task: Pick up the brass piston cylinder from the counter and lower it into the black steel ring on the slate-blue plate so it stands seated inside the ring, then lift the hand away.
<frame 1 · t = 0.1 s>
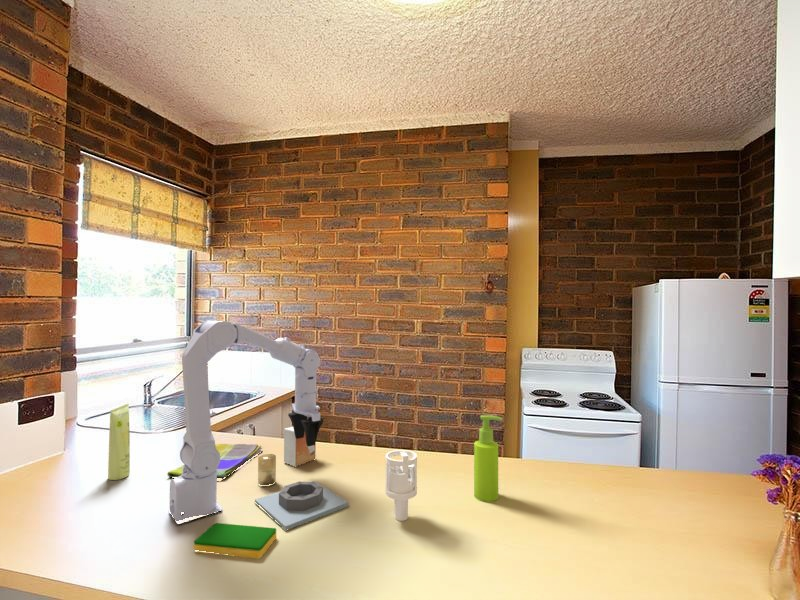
hand: (305, 441, 113), 10 cm above the counter, tool pointing down, fingers open, 7 cm apart
dish sponge: (236, 547, 81), on the counter
ring plate: (301, 505, 97), on the counter
dish towel: (218, 465, 123), on the counter
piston: (266, 483, 109), on the counter
small box: (299, 462, 124), on the counter
soap dispenser: (488, 497, 102), on the counter
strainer: (401, 518, 92), on the counter
tube: (118, 477, 113), on the counter
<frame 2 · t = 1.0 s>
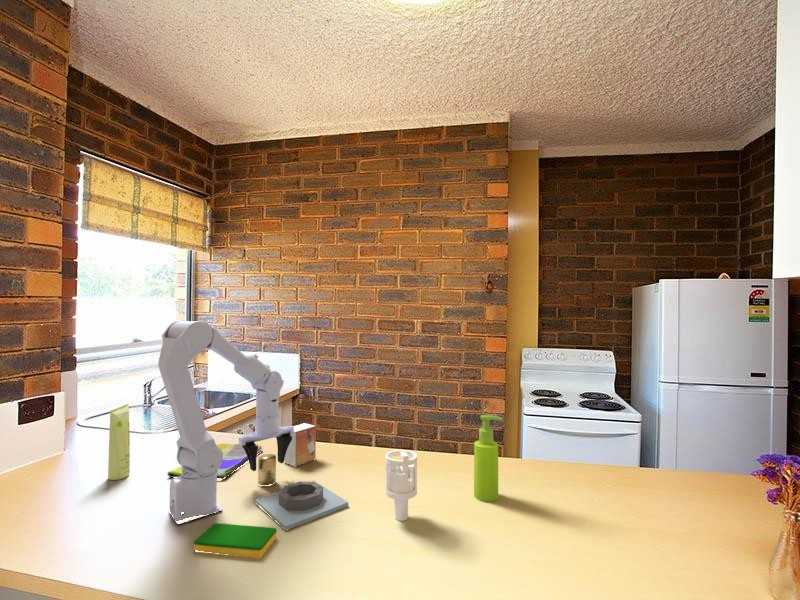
hand: (267, 466, 109), 5 cm above the counter, tool pointing down, fingers open, 7 cm apart
nothing on the counter moved.
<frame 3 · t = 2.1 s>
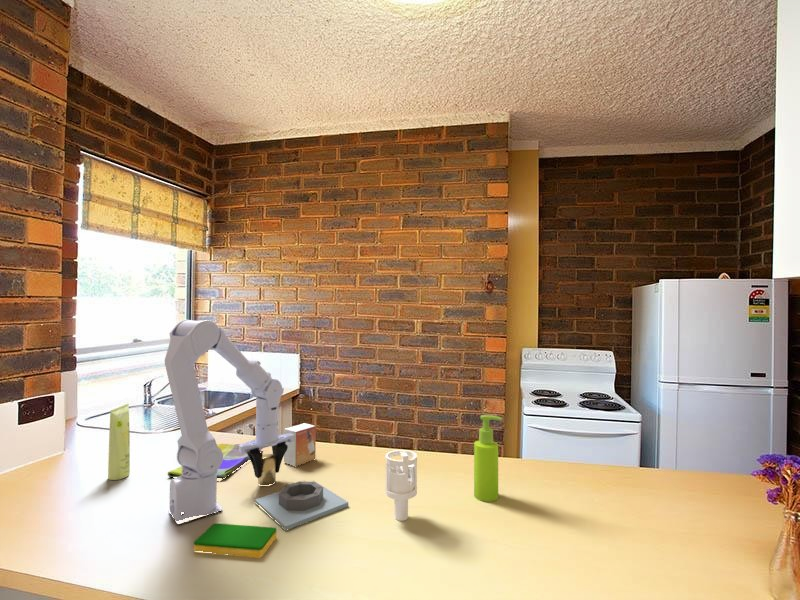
hand: (267, 474, 109), 2 cm above the counter, tool pointing down, fingers closed on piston, 4 cm apart
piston: (266, 483, 109), on the counter, touching gripper
everything else where it was.
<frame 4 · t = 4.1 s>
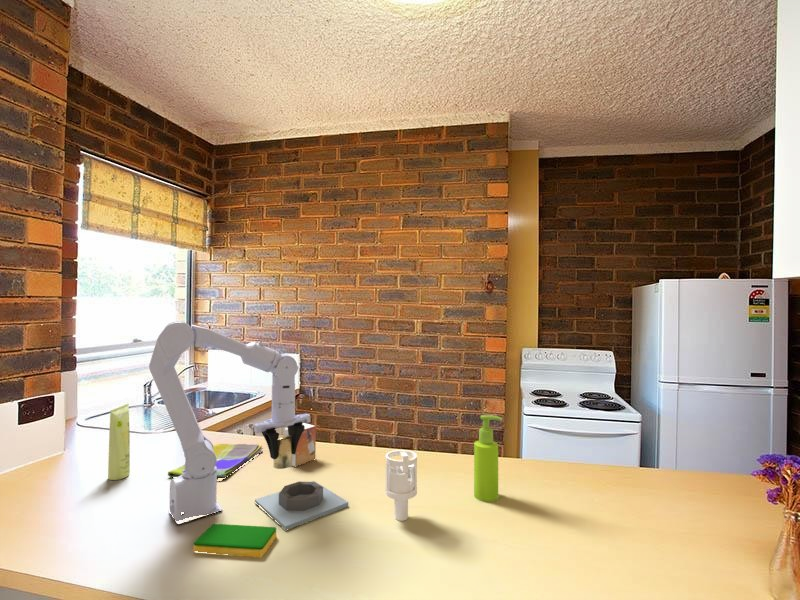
hand: (283, 455, 104), 9 cm above the counter, tool pointing down, fingers closed on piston, 4 cm apart
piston: (282, 465, 104), point 7 cm above the counter, touching gripper
everything else where it was.
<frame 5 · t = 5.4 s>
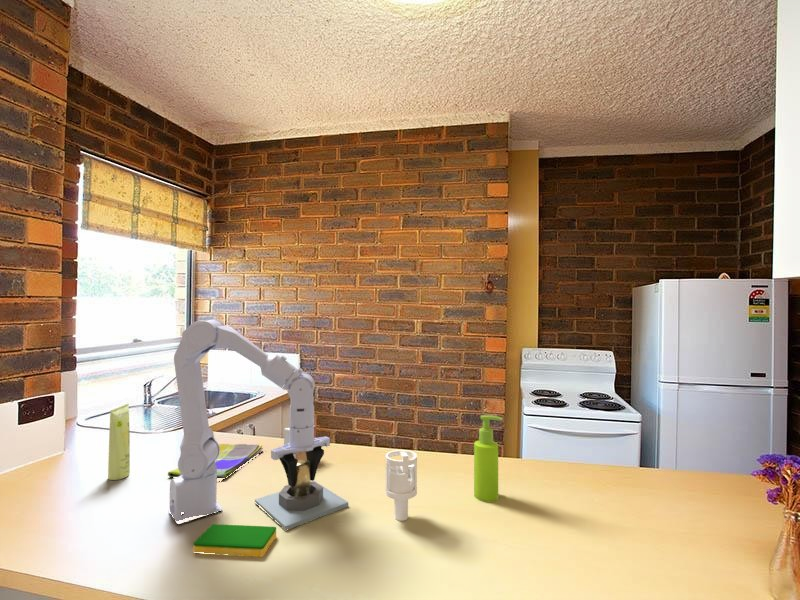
hand: (301, 482, 97), 5 cm above the counter, tool pointing down, fingers closed on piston, 4 cm apart
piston: (300, 492, 97), point 3 cm above the counter, touching gripper
everything else where it was.
when the fingers open (5 cm above the counter, at t = 6.4 s): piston drops 1 cm, resting on ring plate.
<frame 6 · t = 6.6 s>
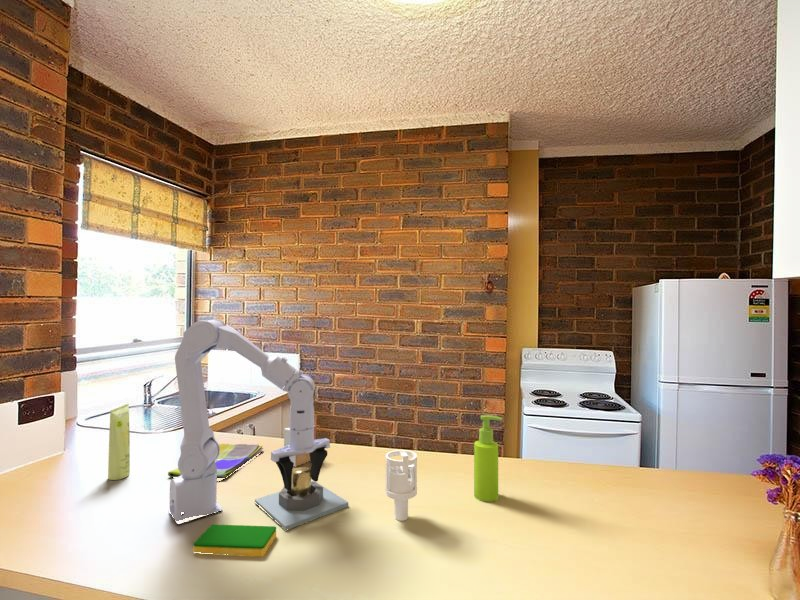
hand: (301, 484, 97), 5 cm above the counter, tool pointing down, fingers open, 6 cm apart
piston: (300, 500, 97), point 1 cm above the counter, touching ring plate
everything else where it was.
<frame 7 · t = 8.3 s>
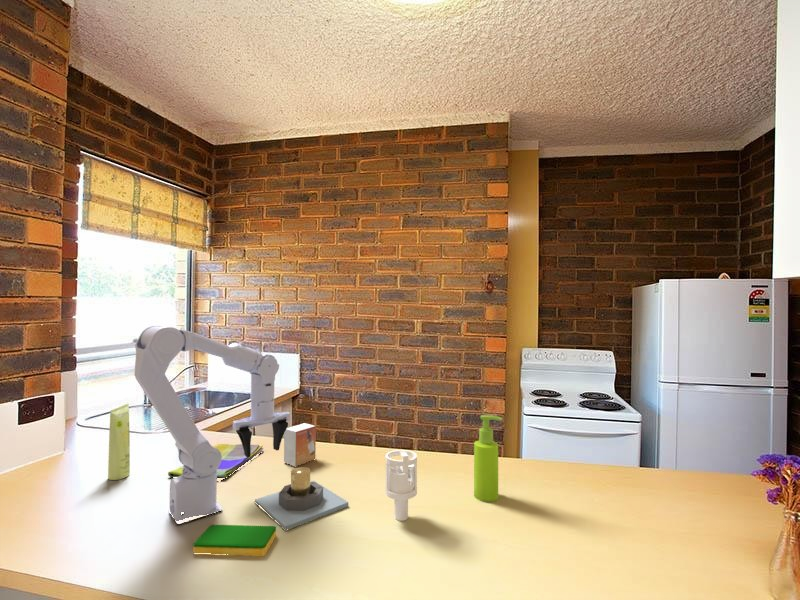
hand: (262, 452, 106), 9 cm above the counter, tool pointing down, fingers open, 7 cm apart
nothing on the counter moved.
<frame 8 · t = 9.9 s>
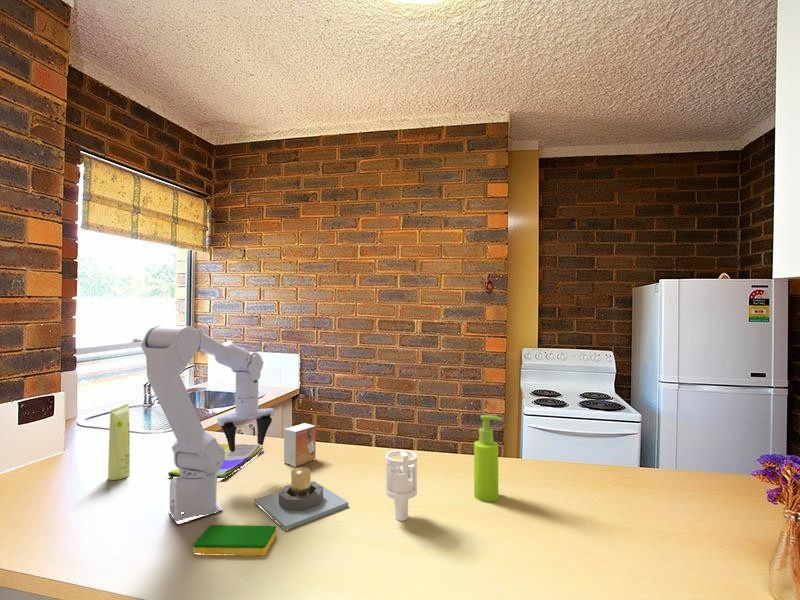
hand: (246, 447, 110), 9 cm above the counter, tool pointing down, fingers open, 7 cm apart
nothing on the counter moved.
at the end: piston 0.3 cm off-centre on the ring plate, point 1.0 cm above the ring plate's base; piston tilted 1°; the gripper is holding nothing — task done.
